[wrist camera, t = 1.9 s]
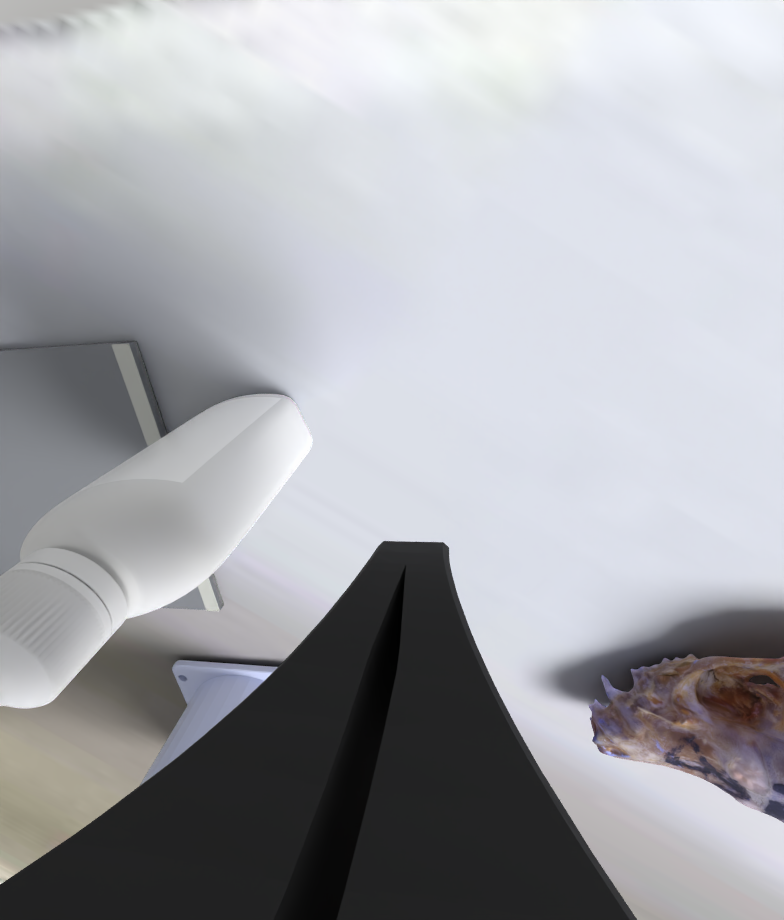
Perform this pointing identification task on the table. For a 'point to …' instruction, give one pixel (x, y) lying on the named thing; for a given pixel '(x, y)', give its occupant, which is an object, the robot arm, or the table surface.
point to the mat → (72, 435)
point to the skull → (703, 724)
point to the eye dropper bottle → (140, 538)
